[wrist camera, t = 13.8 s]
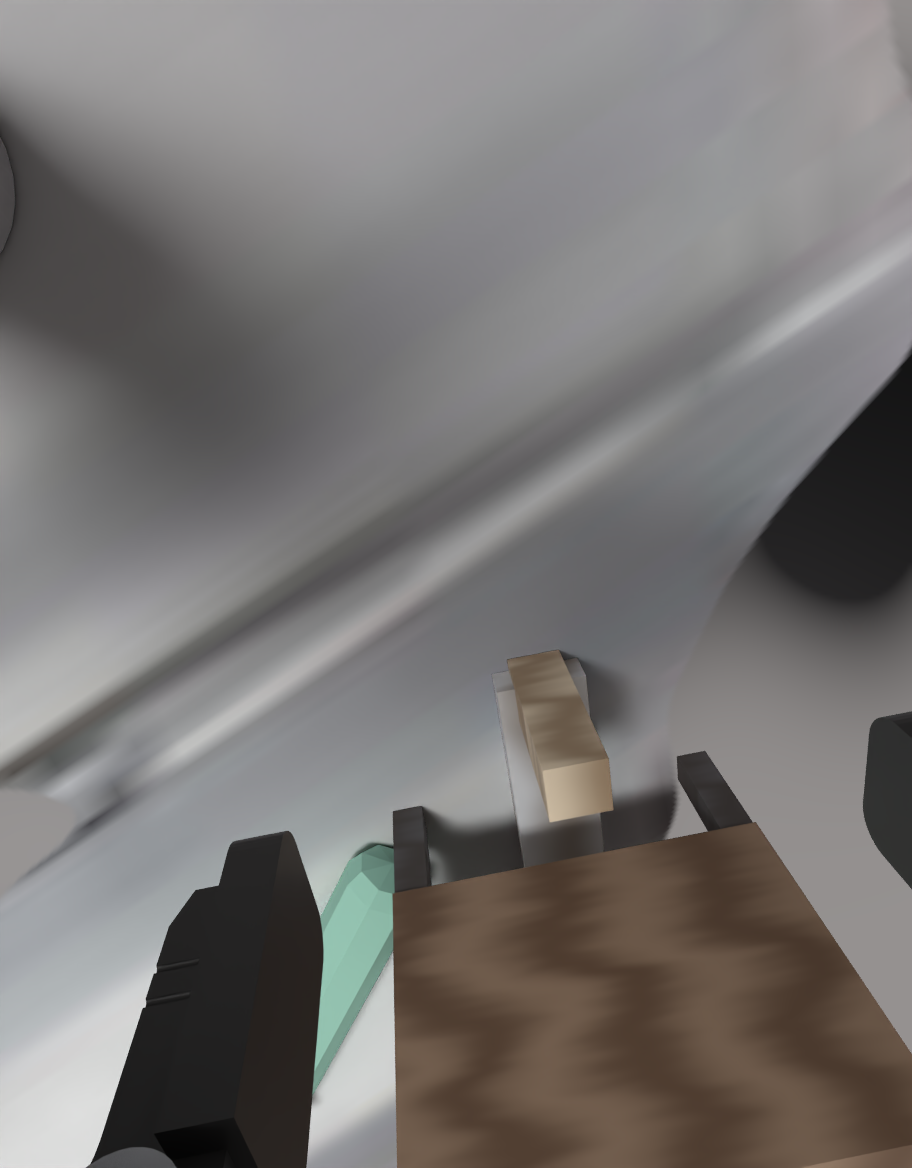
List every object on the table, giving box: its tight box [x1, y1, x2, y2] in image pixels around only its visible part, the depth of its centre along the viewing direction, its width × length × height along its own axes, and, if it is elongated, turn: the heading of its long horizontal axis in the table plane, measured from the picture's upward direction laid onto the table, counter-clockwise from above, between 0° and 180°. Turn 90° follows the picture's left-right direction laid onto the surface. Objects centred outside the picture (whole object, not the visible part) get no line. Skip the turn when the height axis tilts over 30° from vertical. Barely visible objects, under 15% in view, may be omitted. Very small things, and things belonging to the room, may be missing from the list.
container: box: [312, 845, 395, 1096], centre depth 48 cm, size 6×6×25 cm
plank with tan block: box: [492, 650, 613, 868], centre depth 42 cm, size 5×25×10 cm, turn 9°
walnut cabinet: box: [392, 751, 912, 1168], centre depth 37 cm, size 20×10×22 cm, turn 99°
